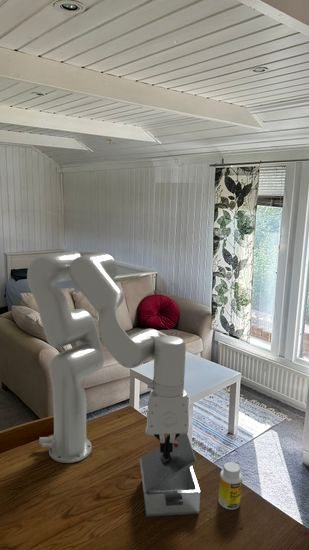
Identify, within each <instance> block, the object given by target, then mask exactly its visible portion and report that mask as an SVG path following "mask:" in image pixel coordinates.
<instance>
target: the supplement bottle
mask: <svg viewBox="0 0 309 550" xmlns="http://www.w3.org/2000/svg"><path fill="white" fill-rule="evenodd" d="M242 485H243V474H242V472H241V468H240V465H239V464H237V463H236V462H233V461H228V462H226V463H224V465H223V469H221V471H220V473H219V487H218V489H219V490H218V499H217V500H218V503H219V505H220V506H221V507H223V508H225V509H227V510H236V509H238V508H239V507H240V505H241V501H242V500H241V499H242V488H243V486H242Z"/></svg>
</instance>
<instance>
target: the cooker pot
mask: <svg viewBox="0 0 309 550" xmlns="http://www.w3.org/2000/svg"><path fill="white" fill-rule="evenodd" d="M141 482H142V481H141ZM141 484H142V485H143V482H142V483H141ZM142 491H143V490H142ZM143 499H144V507H145V508H144V509H145V515H146V516H145V517H147V518H148V517H162V516H163V517H164V516H177V515H178V516H180V515H195V514H198V515H199V514H200V505H201V504H200V503H201V489H200V486H199V483H198V480H197V477H196V474H195V471H194V468H193V465H192V466H191V467H189V468H187V469H186V470H184V471H182V472H181V473H179V474H177V475H176V476H174V477H172V478H171V479H169V480H167V481H166V482H164V483H162V484H161V485H159V486H157V487H156V488H154V489H152V490H151V491H149V492H147V493H146V494H144V491H143Z"/></svg>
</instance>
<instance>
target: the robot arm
mask: <svg viewBox="0 0 309 550" xmlns="http://www.w3.org/2000/svg"><path fill="white" fill-rule="evenodd" d="M118 268H119V267H118V264H117V261H116V260H115V258H114V257H113V256H111V255H110V254H109V253H105V252H99V251H97V252H96V251H85V250H84V251H83V250H73V251H70V250H69V251H63V252H55V253H54V252H53V253H47V254H43V255H40V256H37V257H36V258H34V259H33V260H32V261H31V262H30V263H29V266H28V269H27V273H26V278H27V279H26V281H27V285H28V287H29V290H30V292H31V294H32V296H33V298H34V301H35V303H36V306H37V310H38V313H39V317H40V321H41V324H42V328H43V331H44V336H45V338H46V342H47V343H48V344H49V346H50V347H53V348H55V349H56V348H59V349H60V348H62V347H63V348H64V347H66V346H68V345H71V344H75V345H76V346H73V347H72V348H68V349H66V350H63V351H61V352H59V353H57V354H56V355H55V356H54V357H52V359H51V360H50V362H49V365H48V372H49V377H50V381H51V386H52V401H53V402H52V403H53V405H52V406H53V435H50V436H49V437H46V436H42V437H41V436H39V440H38V441H39V442H38V443H39V445H41V448H42V449H43V448H44V449H46V448H48V454H49V456H50V458H51V459H52V460H54V461H56V462H58V463H63V464H64V463H66V464H70V463H72V464H73V463H77V462H80V461H82V460H83V459H85V458H87V457H88V456H89V455H90V454H91V452H92V442H91V441H90V440H89V439H88V438H87V393H86V390H85V388H84V387H83V386H82V384H81V383H82V380H83V379H86V378H88V377H89V376H91V375H93V374H95V373H97V372H99V371H100V370H101V369H102V368H103V366H104V363H105V354H104V350H103V346H102V344H103V345H104V347H105V348H106V350H107V351H108V352H109V353H110V355H111V356H112V357H113V359H114V360H115V361H116V362H117V363H118V364H119V365H121V366H122V367H124V368H126V369H135V368H138V367H140V366H141V365H143V364H145V363H147V362H149V361H152V360H153V378H152V381H150V382H147V389H151V390H150V392H149V395H148V396H149V397H148V403H147V408H146V409H147V413H146V427H145V431H144V432H145V434H146V435H148V436H153V437H155V438H156V439H157V440H158V441H159V447H160V453H163V458H166V455H167V457H168V458H170V452H172V448H173V442H174V440H175V439H176V438H177V437H178V436H179V435H182V434H186V433H187V434H189V425H190V423H189V421H190V419H189V418H190V417H189V415H190V414H189V410H190V409H189V398H188V393H187V391H186V390H185V372H186V371H185V370H186V369H185V368H186V349H187V347H186V346H187V345H186V341H184V339H182V338H181V337H179V336H176V335H175V336H174V335H167V334H166V333H164V332H161V331H160V330H157V329H154V328H145V329H142V330H140V331H138V332H134V333H132V334H131V335H129V334H127V332H126V331H125V329H124V328H123V327H122V325H121V323H120V322H119V319H118V313H117V311H118V308H119V307H120V306H121V305H122V303H123V302H124V299H125V294H124V292H123V291H122V289H121V288H120V287H119V285H117V284H116V282H115V281H114V279H115V278H116V277H117V274H118V271H119V269H118ZM69 281H73V283H74V284H75V285H76V287H77V288H78V290H79V291H80V292H81V293H82V295H83V296H84V298H85V299H86V300H87V301H88V302H89V304H90V306H92V308H93V309H94V310H95V312H96V313H97V323H96V321H95V320H94V317H93V316H92V314H91V313H90V312H89V311H87V310H86V309H83V308H75V309H72V310H71V309H70V307H69V303H68V300H67V297H66V295H65V293H64V292H63V291H62V290H61V289H60V288H59V287H58V285H57V284H58V283H63V282H69ZM97 326H98V327H97ZM165 435H167V436H165Z"/></svg>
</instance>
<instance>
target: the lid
mask: <svg viewBox="0 0 309 550" xmlns="http://www.w3.org/2000/svg"><path fill="white" fill-rule="evenodd" d="M188 434H189V433H186V434H182V435H179V436H178V437H177V438H176V439H175V440H174V442H173V448H172V452H170V458H168V457H167V455H166V458H163V453H160V446H158V447H156V448H155V449H152V450H151V451H149V452H148V453H147V454H145V455H143V456H142V457H139V465H140V473H141V482H143V484H142V491H144V492H143V495H144V494H146V493H147V492H149V491H151V490H152V489H154V488H156V487H157V486H159V485H161V484H162V483H164V482H166V481H167V480H169V479H171V478H172V477H174V476H176V475H177V474H179V473H181V472H182V471H184V470H186V469H187V468H189V467H191V466H192V467H193V466H194V465H196V464H197V463H198V462H197V459H196V456H195V453H194V450H193V446H192V444H191V440H190V438H189V435H188Z"/></svg>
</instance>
